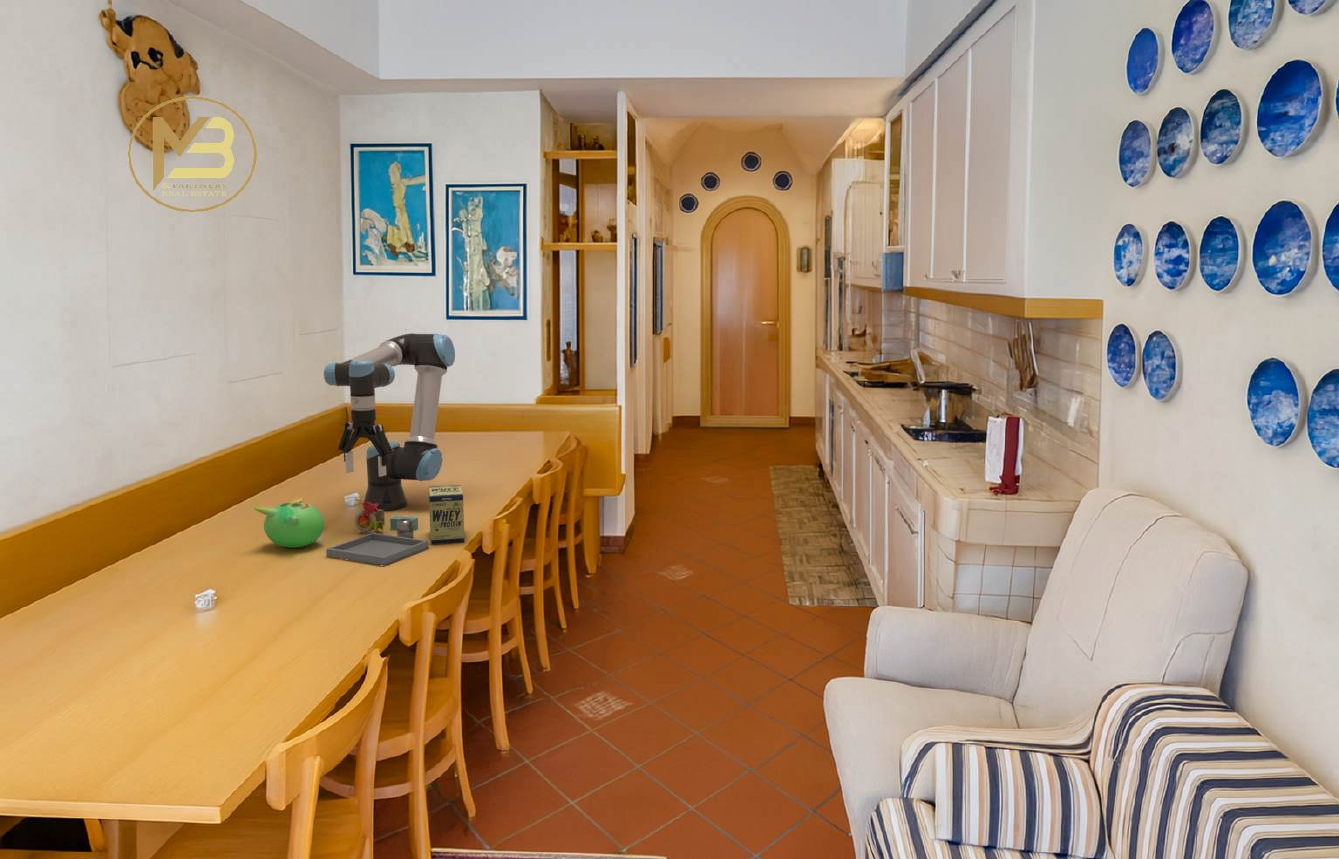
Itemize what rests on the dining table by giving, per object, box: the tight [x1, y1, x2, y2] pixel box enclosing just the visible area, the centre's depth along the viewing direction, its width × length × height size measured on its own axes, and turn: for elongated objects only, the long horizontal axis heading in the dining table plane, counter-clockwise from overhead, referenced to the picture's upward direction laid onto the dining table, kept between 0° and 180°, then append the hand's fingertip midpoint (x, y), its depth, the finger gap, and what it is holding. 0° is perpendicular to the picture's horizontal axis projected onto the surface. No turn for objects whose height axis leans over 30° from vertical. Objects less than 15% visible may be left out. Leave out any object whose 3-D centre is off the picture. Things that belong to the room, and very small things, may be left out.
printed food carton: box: [354, 501, 385, 534], centre depth 309 cm, size 6×11×9 cm
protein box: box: [428, 485, 465, 545], centre depth 304 cm, size 10×16×16 cm
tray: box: [325, 532, 430, 567], centre depth 287 cm, size 20×22×2 cm
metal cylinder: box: [396, 519, 415, 539], centre depth 303 cm, size 5×5×6 cm
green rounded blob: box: [253, 497, 325, 549], centre depth 292 cm, size 18×17×15 cm
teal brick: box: [389, 515, 419, 532], centre depth 314 cm, size 4×8×4 cm, turn 72°
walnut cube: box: [363, 509, 385, 526], centre depth 319 cm, size 5×5×5 cm
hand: (366, 474), depth 306 cm, fingers open, 13 cm apart
